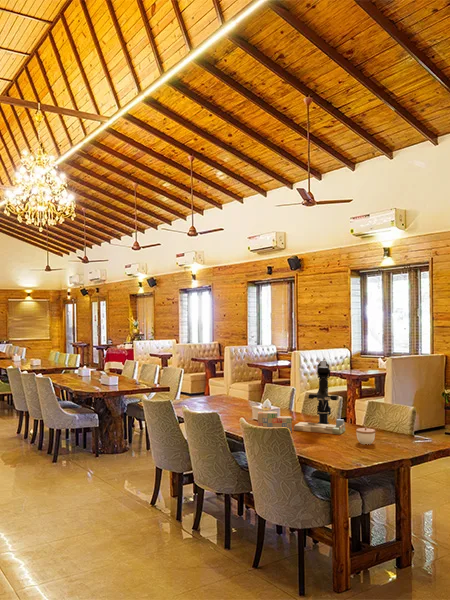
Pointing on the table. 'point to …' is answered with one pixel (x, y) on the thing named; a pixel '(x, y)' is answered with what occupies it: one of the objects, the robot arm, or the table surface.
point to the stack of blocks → (274, 420)
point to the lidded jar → (365, 435)
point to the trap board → (319, 428)
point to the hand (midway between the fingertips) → (323, 410)
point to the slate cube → (339, 422)
